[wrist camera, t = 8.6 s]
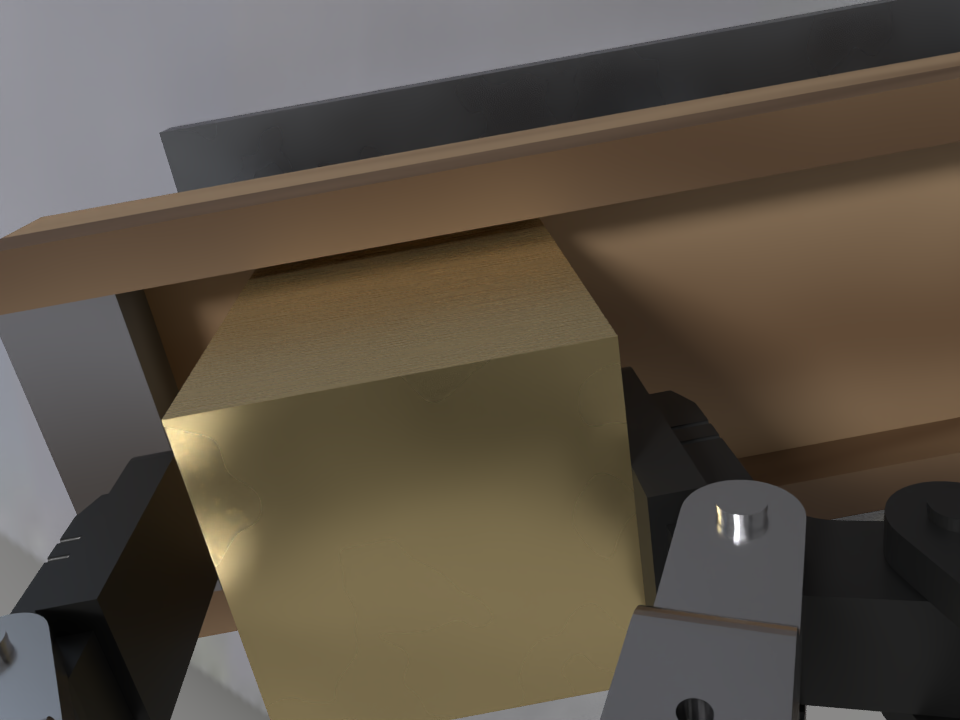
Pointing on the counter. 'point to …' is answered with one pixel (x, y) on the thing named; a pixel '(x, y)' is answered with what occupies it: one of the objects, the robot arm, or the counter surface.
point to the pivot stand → (560, 91)
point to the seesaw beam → (597, 262)
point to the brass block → (417, 479)
